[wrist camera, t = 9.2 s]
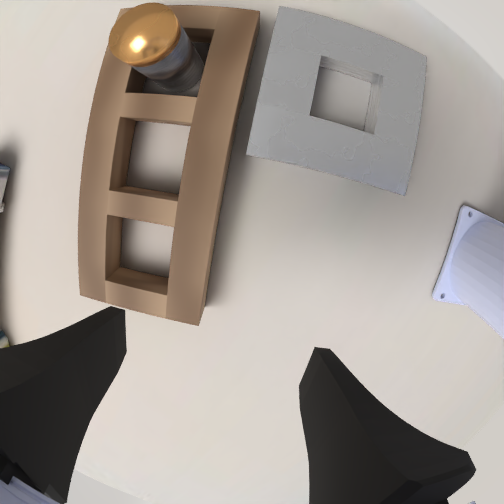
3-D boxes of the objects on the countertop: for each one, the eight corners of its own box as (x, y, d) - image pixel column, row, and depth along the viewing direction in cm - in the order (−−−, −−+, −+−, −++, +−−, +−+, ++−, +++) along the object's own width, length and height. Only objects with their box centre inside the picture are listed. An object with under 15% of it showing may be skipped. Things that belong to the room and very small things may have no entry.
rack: (259, 27, 14) (259, 11, 12) (204, 307, 21) (198, 325, 18) (134, 22, 14) (120, 8, 12) (95, 281, 20) (80, 295, 18)
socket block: (413, 63, 15) (426, 57, 13) (391, 191, 18) (405, 195, 16) (277, 19, 14) (279, 5, 12) (246, 154, 17) (245, 154, 15)
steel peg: (208, 51, 15) (183, 1, 8) (197, 94, 16) (165, 61, 9) (162, 48, 15) (120, 5, 8) (151, 90, 16) (100, 62, 9)
